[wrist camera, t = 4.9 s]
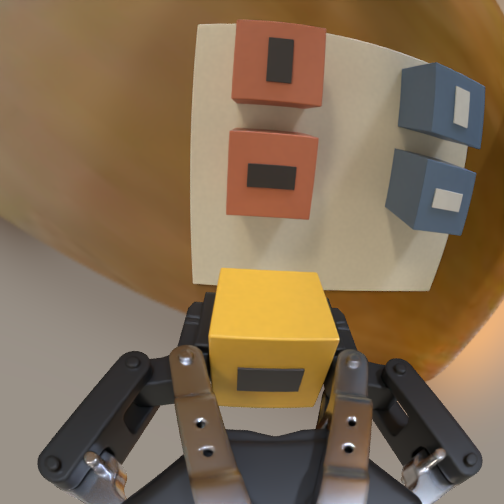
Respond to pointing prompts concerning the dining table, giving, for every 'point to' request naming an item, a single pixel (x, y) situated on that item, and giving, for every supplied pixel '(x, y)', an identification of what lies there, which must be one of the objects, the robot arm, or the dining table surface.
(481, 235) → the dining table surface
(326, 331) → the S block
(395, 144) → the board
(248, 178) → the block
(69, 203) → the dining table surface
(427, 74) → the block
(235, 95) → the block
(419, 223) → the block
